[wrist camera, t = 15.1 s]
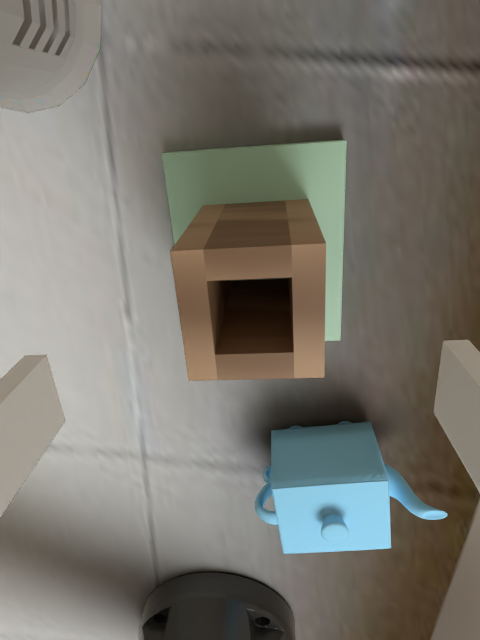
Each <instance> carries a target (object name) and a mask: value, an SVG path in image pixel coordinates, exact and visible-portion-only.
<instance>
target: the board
mask: <svg viewBox="0 0 480 640" xmlns="http://www.w3.org/2000/svg"><path fill="white" fill-rule="evenodd" d="M346 142H347V141H346V140H330V141H316V142H302V143H288V144H274V145H260V146H246V147H232V148H218V149H204V150H190V151H176V152H165V153H162V161H163V168H164V175H165V182H166V190H167V197H168V204H169V211H170V218H171V226H172V233H173V240H174V245H175V244H176V242H177V241H178V240H179V238H180V237H181V235H182V234H183V233H184V231H185V230H186V228H187V227H188V226H189V224H190V223H191V221H192V220H193V219H194V217H195V216H196V214H197V213H198V212H199V210H200V209H201V207H202V206H203V205H217V204H234V203H251V202H267V201H284V200H301V199H309V202H310V204H311V207H312V209H313V212H314V214H315V217H316V219H317V222H318V224H319V227H320V229H321V232H322V234H323V237H324V239H325V242H326V293H325V341H336V340H340V335H341V303H342V271H343V239H344V206H345V174H346ZM270 279H287V278H265V279H242V280H232V281H247V280H270Z"/></svg>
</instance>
